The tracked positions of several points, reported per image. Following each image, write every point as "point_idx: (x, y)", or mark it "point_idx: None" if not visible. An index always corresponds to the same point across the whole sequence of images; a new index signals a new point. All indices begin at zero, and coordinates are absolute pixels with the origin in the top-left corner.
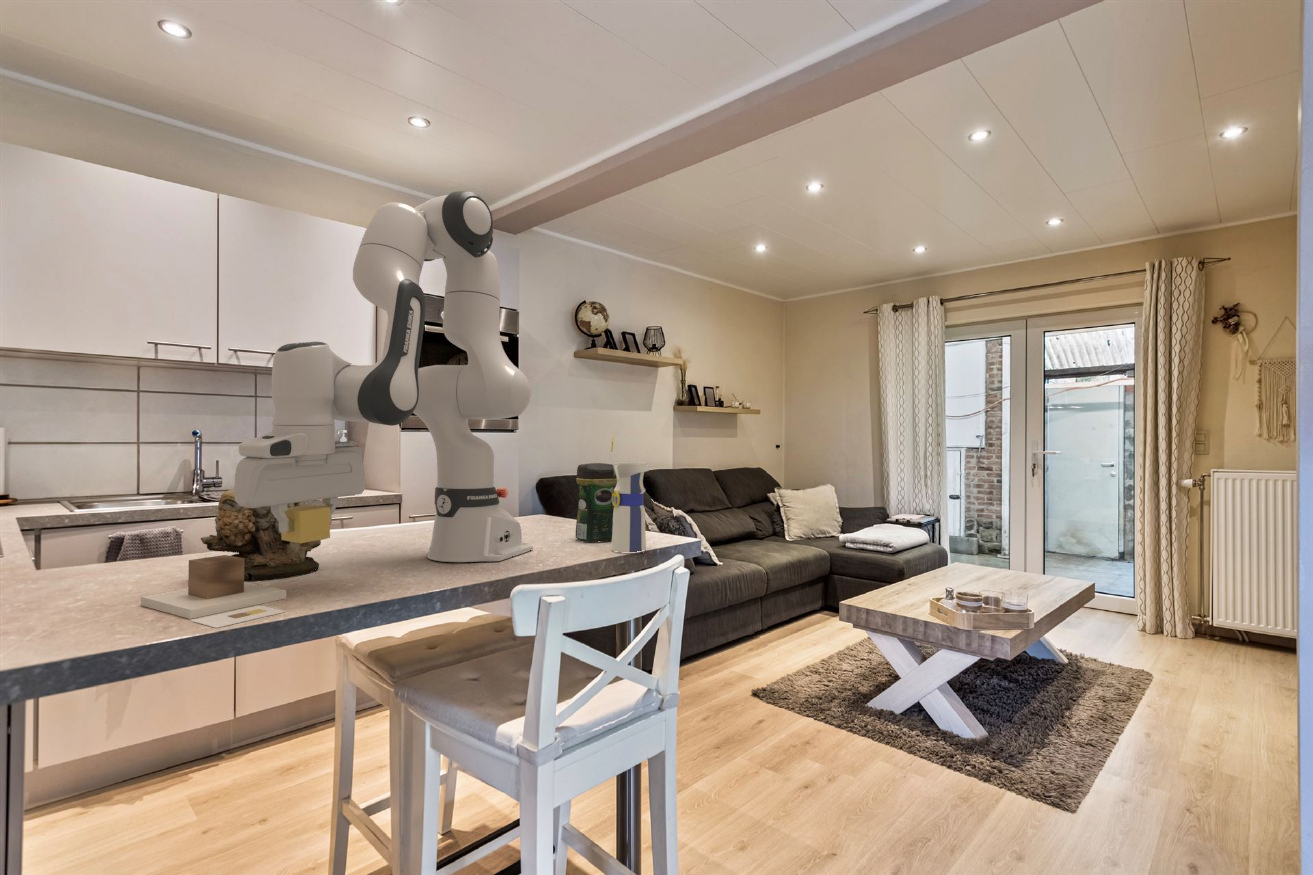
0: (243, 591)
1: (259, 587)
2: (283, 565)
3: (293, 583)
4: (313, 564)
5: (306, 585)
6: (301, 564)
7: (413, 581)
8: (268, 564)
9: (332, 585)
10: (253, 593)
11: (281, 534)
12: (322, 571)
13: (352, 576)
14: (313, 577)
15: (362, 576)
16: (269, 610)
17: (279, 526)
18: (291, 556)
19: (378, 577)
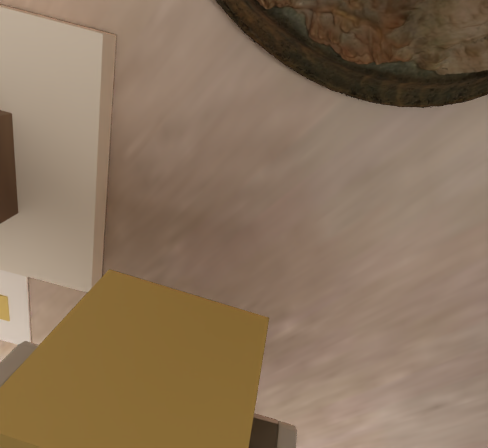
0: (15, 214)
1: (75, 208)
2: (326, 54)
3: (242, 176)
4: (470, 91)
5: (234, 232)
6: (403, 86)
7: (361, 429)
8: (281, 5)
9: (260, 294)
10: (26, 245)
11: (93, 287)
12: (461, 125)
13: (389, 277)
14: (345, 172)
15: (395, 302)
16: (15, 320)
17: (5, 363)
18: (407, 33)
19: (390, 346)
